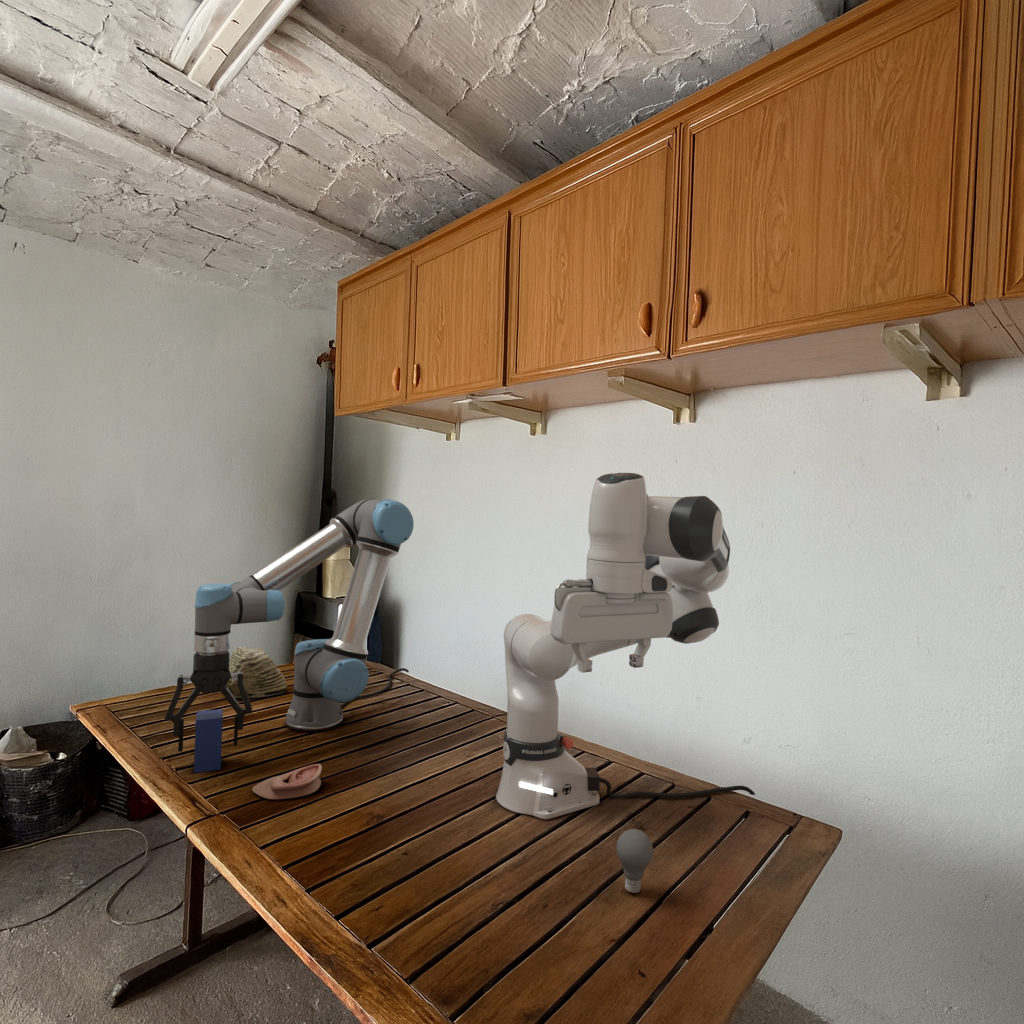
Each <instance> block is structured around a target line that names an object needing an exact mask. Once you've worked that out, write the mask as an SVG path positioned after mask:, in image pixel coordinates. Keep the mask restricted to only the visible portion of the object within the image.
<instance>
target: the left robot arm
mask: <svg viewBox="0 0 1024 1024" xmlns="http://www.w3.org/2000/svg"><path fill="white" fill-rule="evenodd" d="M414 527H415V525H414V516H413V514H412V513H411V510H410V509H409V508H408V507H407V506H406V505H405V504H404V503H403V502H400V501H398V500H393V499H386V498H385V499H378V498H377V499H375V498H366V499H363V500H360V501H358V502H356V503H354V504H353V505H351V506H349V507H348V508H346V509H344V510H343V511H341V512H339V513H338V514H337V515H335V516H334V517H332V518H330V520H329V524H327V525H326V526H325V527H323V528H321V529H320V530H319V531H317V532H315V533H314V534H313V535H311V536H310V537H307V538H306V539H305V540H303V541H301V542H300V543H298V544H297V545H296V546H294V547H292V548H291V549H289V550H288V551H286V552H284V553H283V554H282V555H280V556H279V557H277V558H275V559H273V560H272V561H271V562H269V563H268V564H266V565H265V566H262V568H260V569H258V570H257V571H255V572H254V573H252V574H250V575H249V576H247V577H245V578H244V579H242V580H241V581H234V582H230V583H205V584H202V585H199V587H197V589H196V594H195V604H194V634H193V636H194V637H193V651H194V652H195V653H194V654H193V659H192V660H193V662H192V663H193V665H192V673H191V675H184V674H179V675H178V676H177V680H176V689H175V691H174V694H173V695H172V698H171V701H170V703H169V705H168V707H167V710H166V713H165V715H164V720H165V721H166V722H167V721H170V722H172V723H173V733H172V734H173V737H178V745H177V746H178V748H177V749H178V750H177V752H178V753H181V752H183V749H184V731H185V730H184V729H185V727H184V724H185V719H184V718H183V717H184V715H185V714H186V713H187V711H188V710H189V708H190V707H191V706H192V704H193V703H194V701H195V700H196V699H197V698H198V697H199V695H200V693H202V694H209V693H213V694H215V693H216V694H217V693H219V692H220V693H221V694H222V695H223V697H224V698H225V699H226V701H227V703H229V705H230V706H231V708H232V709H233V710H234V712H235V714H234V722H233V723H234V725H233V726H234V727H233V747H237V746H238V738H239V737H238V735H239V733H238V732H239V731H243V729H244V722H245V721H244V718H245V717H246V715H248V714H249V715H251V714H252V712H253V708H252V707H253V706H252V704H251V700H250V698H249V697H248V694H247V691H246V688H245V686H244V683H243V672H242V671H239V672H238V673H231V672H230V670H229V659H230V657H231V656H230V654H231V653H230V652H229V650H230V648H231V632H232V631H231V627H232V625H242V624H255V623H269V622H275V621H280V620H281V619H282V618H283V616H284V614H285V610H286V609H285V608H286V601H285V596H284V594H283V592H282V591H281V590H283V589H284V588H286V587H287V586H289V585H290V584H292V583H293V582H295V581H296V580H298V579H299V578H301V577H302V576H304V575H305V574H306V573H308V572H309V571H311V570H313V569H314V568H315V567H317V566H319V565H320V564H321V563H323V562H325V561H326V560H328V559H330V557H332V556H334V555H335V554H337V553H338V552H339V551H341V550H343V549H344V548H352V547H353V546H355V545H357V547H358V549H359V551H358V554H357V557H356V560H355V563H354V567H353V570H352V574H351V576H350V580H349V583H348V587H347V589H346V593H345V596H344V598H343V603H342V606H341V609H340V612H339V615H338V619H337V622H336V625H335V628H334V631H333V635H332V637H330V638H323V639H322V638H319V639H307V640H303V641H299V642H297V644H296V645H295V650H294V655H293V656H294V672H293V695H292V696H293V697H292V699H291V702H290V704H289V708H288V709H287V713H286V715H285V726H286V728H287V729H289V730H291V731H294V732H295V731H296V732H301V733H316V732H325V731H329V730H332V729H335V728H337V727H339V726H340V725H342V723H343V722H344V714H343V709H342V708H343V707H345V706H346V705H347V704H348V703H350V702H351V701H354V700H358V699H365V698H368V697H373V696H375V695H379V694H382V693H384V692H386V691H387V690H389V689H390V687H391V685H392V676H393V675H395V674H397V673H399V672H406V673H409V672H410V671H409V669H407V668H405V667H401V668H398V669H396V670H393V671H392V672H390V673H389V674H388V675H387V680H388V684H387V685H386V686H385V687H384V688H381V689H380V690H377V691H374V692H371V693H366V694H362V693H363V692H364V691H365V690H366V688H367V686H368V683H369V678H370V674H369V670H368V667H367V664H366V663H367V659H368V655H369V651H368V649H367V647H366V643H367V639H368V636H369V632H370V629H371V626H372V623H373V619H374V615H375V611H376V609H377V605H378V602H379V599H380V596H381V591H382V589H383V586H384V582H385V579H386V576H387V573H388V569H389V565H390V563H391V559H392V558H394V557H396V556H397V555H398V554H399V552H400V548H401V546H402V544H404V543H405V542H406V541H408V540H410V537H411V536H412V534H413V531H414ZM230 678H232V679H233V680H234V682H237V684H238V688H239V691H240V694H241V697H242V698H241V699H242V701H243V706H244V707H242V706H241V704H240V703H239V701H238V700H237V698H235V697H234V696H233V694H232V693H231V692H230V690H229V688H228V687H227V685H226V683H227V682H228V681H229V680H230ZM189 682H191V684H192V685H193V686H194V688H193V689H192V691H191V693H190V694H189V695H188V697H187V698H186V700H185V701H184V702H183V704H182V705H181V707H180V708H179V709H178V711H177V712H176V713H174V711H175V709H176V707H177V704H178V702H179V700H180V697H181V694H182V692H183V689H184V687H186V686H187V685H188V683H189Z"/></svg>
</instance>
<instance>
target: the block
mask: <svg viewBox="0 0 1024 1024" xmlns="http://www.w3.org/2000/svg"><path fill="white" fill-rule="evenodd" d="M196 711H197V710H196ZM223 716H224V709H223V708H222V709H221V708H220V709H219V708H218V709H210V710H209V709H208V710H198V711H197V712H196V716H195V728H194V729H195V730H194V731H195V732H194V756H193V757H194V758H193V759H194V761H193V773H195V774H196V773H203V772H211V771H219V770H221V769H222V750H223V749H222V746H223V720H224V719H223Z"/></svg>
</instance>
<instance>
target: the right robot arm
mask: <svg viewBox="0 0 1024 1024" xmlns="http://www.w3.org/2000/svg"><path fill="white" fill-rule="evenodd" d="M587 526H588V528H587V531H588V535H589V548H588V551H587V554H586V566H585V567H586V570H585V578H584V579H583V578H582V579H565V580H563V582H561V583H559V584H558V585H557V586H556V588H555V589H554V599H553V603H554V605H553V611H552V615H551V620H546V619H544V618H543V617H541V616H539V615H537V614H535V613H522V614H517V615H515V616H513V617H512V618H510V620H508V621H507V623H506V624H505V627H504V629H503V644H504V662H505V678H506V688H507V691H506V692H507V711H506V730H505V731H504V736H503V744H502V755H503V757H502V758H503V766H502V770H501V771H502V772H501V777H500V781H499V784H498V787H497V788H498V789H497V791H496V794H495V799H496V801H497V803H498V804H499V805H500V806H502V807H503V808H504V809H506V810H509V811H511V812H514V813H518V814H522V815H523V814H524V815H528V816H533V817H535V818H537V819H542V820H550V819H554V818H558V817H560V816H564V815H568V814H570V813H575V812H577V811H580V810H583V809H587V808H590V807H594V806H597V805H600V802H601V799H600V794H599V791H600V787H601V786H600V784H603V785H605V786H606V794H607V796H608V797H610V798H611V799H630V798H634V797H649V798H661V799H663V798H664V799H682V798H692V797H700V796H701V797H702V796H707V795H712V794H716V793H725V792H734V791H745V792H747V793H748V794H749V795H751V796H756V792H754V790H752V789H751V788H750V787H748V786H745V785H732V786H721V787H720V786H719V787H715V788H714V787H713V788H709V789H704V790H696V791H688V792H668V793H667V792H653V791H633V792H627V793H624V794H614V793H613V792H612V784H611V783H610V781H609V780H608V779H606V778H603V777H601V776H600V774H599V773H598V771H597V769H596V767H585V766H584V765H583V764H582V763H581V762H580V761H579V760H577V759H576V758H575V757H574V756H573V755H572V754H570V753H569V752H568V751H566V750H571V749H573V748H574V741H573V740H572V739H570V738H569V737H567V736H566V737H565V735H563V734H562V733H560V732H559V731H558V730H559V729H558V728H559V708H560V699H559V693H558V690H557V689H558V688H557V685H556V684H557V683H556V680H558V679H561V678H563V677H564V676H565V675H567V673H568V672H569V670H570V669H572V668H573V667H576V666H577V670H578V672H580V673H584V674H585V673H592V671H593V667H592V666H593V660H591V658H593V657H596V656H599V655H603V654H607V653H609V652H613V651H616V650H617V651H618V650H620V649H625V648H628V647H630V646H633V645H636V644H637V645H636V646H635V649H634V652H633V653H630V654H629V655H628V656H629V657H628V658H629V661H628V664H629V667H632V668H635V669H638V668H643V667H644V662H645V661H644V660H645V656H646V655H647V653H648V651H649V649H650V648H651V645H652V639H661V638H662V639H663V638H666V639H667V638H668V639H671V640H672V641H674V642H676V643H681V644H695V643H699V642H702V641H705V640H706V639H708V638H709V637H711V635H713V634H714V633H715V632H716V631H717V629H718V628H719V626H720V619H719V616H718V611H717V609H716V608H715V607H714V606H713V603H712V600H711V597H710V594H709V593H713V592H715V591H718V590H719V589H721V588H722V587H723V586H724V585H725V583H726V582H727V580H728V577H729V574H730V566H729V562H730V555H731V543H730V540H729V537H728V535H727V533H726V530H725V528H724V521H723V515H722V511H721V509H720V508H719V506H718V505H717V504H716V503H715V502H714V501H713V500H712V499H711V498H709V497H708V496H705V495H695V496H694V495H693V496H660V495H659V496H658V495H657V496H656V495H649V494H647V486H646V480H645V477H644V476H643V475H641V474H639V473H634V472H616V473H613V472H612V473H605V474H603V475H600V476H599V477H597V478H596V479H595V481H594V484H593V487H592V490H591V497H590V504H589V511H588V525H587ZM565 749H566V750H565ZM720 788H721V789H720Z"/></svg>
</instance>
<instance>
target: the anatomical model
mask: <svg viewBox="0 0 1024 1024" xmlns="http://www.w3.org/2000/svg"><path fill="white" fill-rule="evenodd" d="M322 770H323V766H322V764H320V763H314V764H309V765H306V766H303V767H300V768H297V769H294V770H292V771H289V772H286V773H283V774H280V775H276V776H272V777H269V778H267V779H264V780H263V781H261V782H259V783H257V784H256V785H254V786H252V788H251V791H252V793H254V794H256V795H257V796H259V797H261V798H264V799H267V800H285V799H294V798H299V797H304V796H307V795H311V794H312V793H315V792H316V791H318V790H319V788H320V787H321V785H322V780H321V779H320V776H321V774H322Z"/></svg>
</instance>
